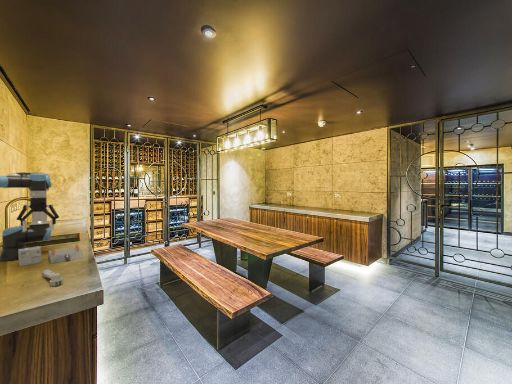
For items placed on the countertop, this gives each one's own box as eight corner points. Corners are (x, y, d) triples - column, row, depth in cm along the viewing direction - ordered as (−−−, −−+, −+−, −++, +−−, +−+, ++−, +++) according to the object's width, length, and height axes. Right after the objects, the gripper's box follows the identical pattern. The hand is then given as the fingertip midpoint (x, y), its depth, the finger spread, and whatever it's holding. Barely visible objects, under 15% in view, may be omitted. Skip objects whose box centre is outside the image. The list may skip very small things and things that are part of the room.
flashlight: (51, 267, 139) (63, 271, 124) (51, 278, 138) (64, 283, 124) (39, 270, 134) (51, 274, 120) (40, 281, 134) (51, 287, 119)
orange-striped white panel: (48, 257, 171) (48, 246, 171) (78, 252, 184) (78, 242, 184) (50, 264, 155) (50, 253, 155) (83, 258, 168) (83, 248, 168)
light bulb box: (39, 260, 163) (39, 245, 163) (41, 262, 159) (41, 247, 159) (18, 264, 154) (17, 249, 154) (20, 266, 151) (19, 250, 150)
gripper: (8, 197, 137) (9, 232, 137) (60, 197, 147) (61, 229, 148) (15, 197, 143) (15, 230, 144) (64, 196, 154) (65, 227, 155)
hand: (38, 230), depth 146 cm, fingers open, 13 cm apart
